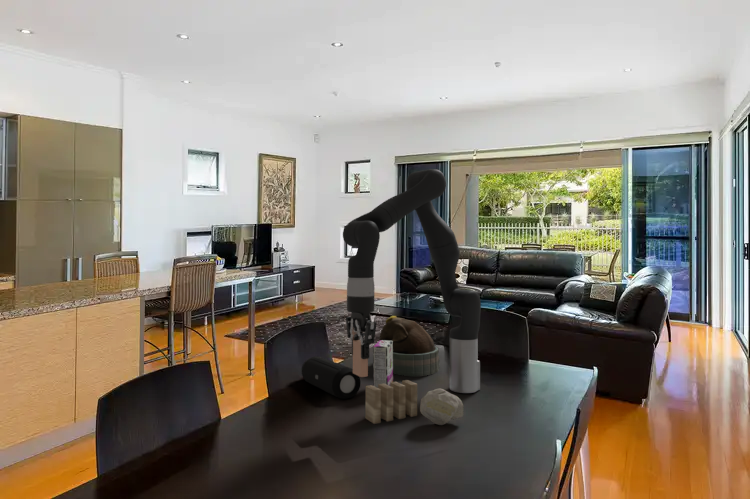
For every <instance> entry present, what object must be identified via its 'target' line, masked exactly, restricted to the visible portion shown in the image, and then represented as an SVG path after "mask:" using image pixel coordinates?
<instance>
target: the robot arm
mask: <svg viewBox="0 0 750 499" xmlns="http://www.w3.org/2000/svg"><path fill="white" fill-rule="evenodd" d="M446 187H447V180H446V177H445V175H444V173H443V172H442V171H441V170H439V169H437V168H429V169H422V170H419V171H413V172H411V173H409V175H408V176H407V178H406V190H405V191H403V192H400V193H399V194H395V195H394V196H392V197H390V198H388V199H386V200H385V201H383V202H382V203H380V204H379V205H378V206H376V207H375V208H373V209H372V210H371V211H369V212H367V213H364V214H363V215H360V216H358V217H356V218H354V219H352V220H351V221H349V222H348V223H347V224H346V225H345V227H344V228H343V231H342V238H343V241H344V243H345V244H346V245H348V246H349V247H353V248H357V251H356V254H355V255H352V256H350V257H349V259H348V263H347V284H346V311H347V312H348V313H351V314H350V316H346V317H345V324H346V335H347V338H348V339H349V340H350V342H351V355H352V356H353V340H361V358H362V359H368V360H369V359H370V345H371V344H374V343H375V338H376V332H377V331H376V330H377V322H376V321H372V319H371V313H373V312H374V311H375V281H374V280H375V279H374V276H375V275H374V273H375V272H374V270H375V268H374V267H375V266H374V265H375V264H374V262H375V259H376V256H377V253H378V248H379V244H380V240H381V239H380V237H381V236H380V235H381V234H380V233H383V232H385V231H388V230H389V229H390V228H392V227H394V225H395V224H397V223H398V222H399V221H401V220H402V219H403V218H404V217H406V216H407V215H409V214H410V213H412V212H413V211H415V212H416V215H417V217H418V220H419V222H420V225H421V229H422V231H423V234H424V237H425V240H426V243H427V247H428V250H429V253H430V256H431V259H432V261H433V262H432V263H433V264H434V267H435V271H436V276H437V278H438V282H439V286H440V290H441V296H442V300H443V304H444V307H445V311H446V312H447V313H448V314H449V315H450V316H452V317H456V318H457V317H458V318H461V319H460V324H458V326H456V327H451V329H449V390H450V391H452V392H455V393H460V394H472V393H476V392H478V391H479V390H481V361H480V360H478V358H479V357H478V356H479V353H478V348H479V345H478V344H479V343H478V342H479V340H478V338H479V337H478V336H479V331H480V327H481V326H480V325H481V312H482V310H481V309H482V306H481V305H482V304H481V298H480V295H479V293H478V292H477V291H475V290H472V289H471V290H469V289H461V288H460V287H459V285H458V282H457V276H456V271H457V267H458V263H459V259H460V248H459V244H458V240H457V238H456V235H455V233H454V231H453V229H452V228H451V227H450V225H448V223H446V221H445V220H444V219H443V218H442V217H441V216H440V215H439V214H438V212H437V210H436V209H435V206H434V205H433V201H434V200H435V199H438V198H439V197H441V196H443V194H444V192H445V190H446Z"/></svg>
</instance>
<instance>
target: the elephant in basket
mask: <svg viewBox="0 0 750 499" xmlns="http://www.w3.org/2000/svg"><path fill="white" fill-rule="evenodd" d="M379 334H380V335H379V340H388V341H393V373H394V374H393V375H398V376H403V375H404V376H403V377H426V376H427V375H428V376H431V374H432V375H434V374H436V372H437V373H438V372H439V370H440V369H439V368H441V366H440V356H439V348H438V347H437V346H436V345H435V342H434V339H433V338H432V337H431V335H430V334H429V333H428V332H427V331H426V330H425V328H423V326H422V325H420V324H418V323H417V322H416V321H414V320H410V319H405V318H402V317H397V315H391V316H390V317H388V318H387V319H386V320H385V324H384V325H383V327H382V328H381V330H380V333H379ZM428 376H427V377H428Z"/></svg>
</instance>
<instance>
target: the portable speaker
mask: <svg viewBox="0 0 750 499" xmlns="http://www.w3.org/2000/svg"><path fill="white" fill-rule="evenodd" d="M301 375H302V378H303V379H304V381H305V382H306V383H308V384H310V385H312V386H314V387H316V388H318V389H320V390H322V391H324V392H325V393H328V394H330V395H332V396H334V397H335V398H338V399H339V400H340V399H341V400H345V399H350V398H354V397H355V396H356V395H357V394H358V393H359V391H360V388H361V379H360V378H361V377H360V376H358V375H355V374H353V367H352V368H351V367H348V366H346V365H343V364H341V363H338V362H335V361H332V360H330V359H328V358H327V359H326V358H324V357H321V356H319V355H317V356H316V355H315V356H312V357H309V358H307V359H306V360H305V361H304V362H303V364H302V366H301Z"/></svg>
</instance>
